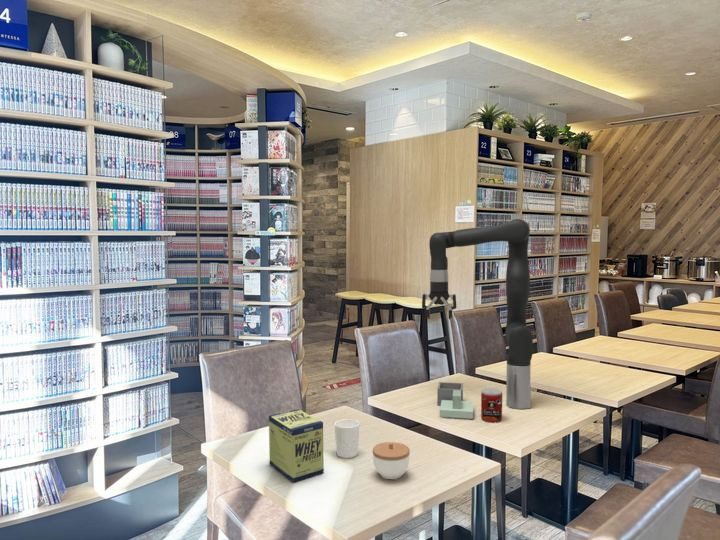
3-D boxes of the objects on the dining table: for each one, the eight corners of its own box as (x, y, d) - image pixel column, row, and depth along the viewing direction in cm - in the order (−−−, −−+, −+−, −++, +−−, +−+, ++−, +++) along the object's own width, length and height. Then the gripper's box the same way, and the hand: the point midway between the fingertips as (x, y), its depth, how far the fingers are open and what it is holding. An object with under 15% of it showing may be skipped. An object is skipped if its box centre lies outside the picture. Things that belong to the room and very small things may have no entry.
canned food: (480, 422, 197) (481, 393, 197) (481, 415, 205) (481, 386, 204) (502, 423, 196) (502, 394, 195) (501, 416, 203) (502, 388, 203)
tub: (462, 399, 224) (463, 383, 224) (462, 407, 214) (462, 390, 214) (439, 398, 226) (439, 382, 226) (437, 405, 216) (437, 388, 216)
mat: (472, 409, 212) (472, 408, 212) (472, 419, 200) (472, 418, 200) (442, 407, 214) (442, 406, 214) (440, 417, 202) (440, 416, 202)
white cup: (331, 451, 172) (331, 420, 172) (354, 447, 175) (354, 417, 174) (339, 460, 165) (339, 429, 164) (363, 456, 168) (362, 425, 167)
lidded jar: (365, 475, 155) (364, 443, 154) (390, 463, 162) (390, 433, 162) (392, 487, 147) (392, 454, 147) (417, 474, 155) (417, 443, 154)
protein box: (293, 483, 150) (292, 429, 149) (268, 464, 163) (267, 414, 162) (324, 473, 156) (324, 421, 155) (298, 456, 169) (297, 408, 168)
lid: (473, 408, 212) (473, 389, 211) (473, 418, 200) (473, 398, 199) (441, 406, 214) (441, 387, 214) (439, 416, 202) (439, 397, 202)
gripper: (456, 279, 225) (456, 317, 226) (423, 279, 228) (423, 316, 229) (456, 281, 218) (456, 320, 219) (421, 280, 221) (421, 319, 222)
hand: (439, 318), depth 224 cm, fingers open, 8 cm apart
